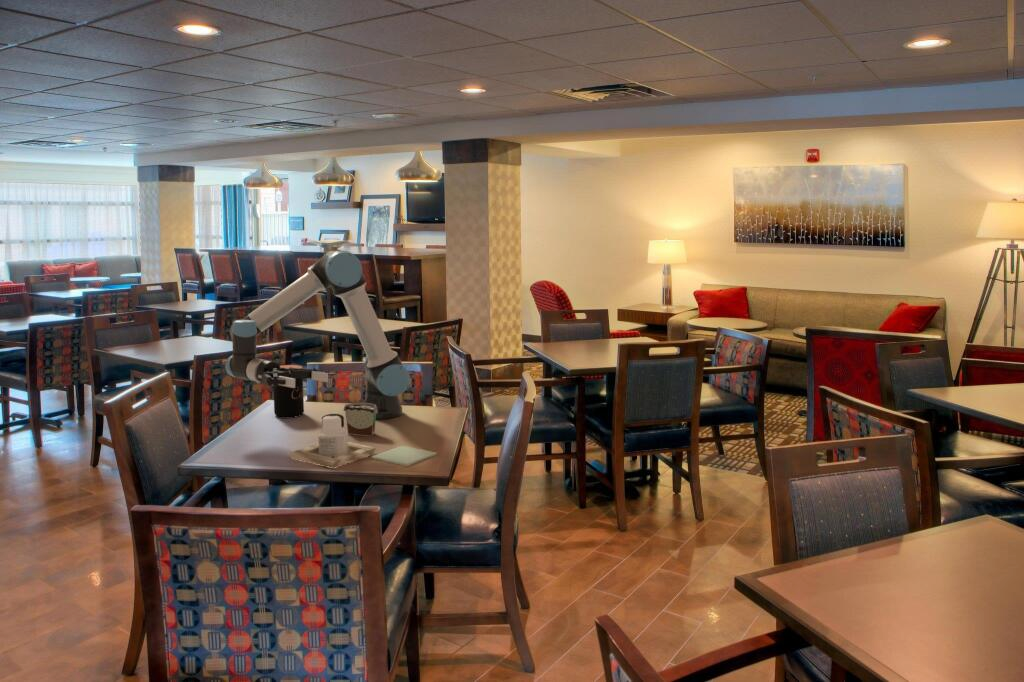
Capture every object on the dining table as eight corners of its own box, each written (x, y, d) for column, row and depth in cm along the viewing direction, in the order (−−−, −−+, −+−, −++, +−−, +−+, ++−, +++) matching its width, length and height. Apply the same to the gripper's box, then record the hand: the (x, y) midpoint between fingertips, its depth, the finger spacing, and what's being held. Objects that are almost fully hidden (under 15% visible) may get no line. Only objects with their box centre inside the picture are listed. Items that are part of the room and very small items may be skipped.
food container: (385, 432, 261) (384, 404, 260) (376, 437, 255) (375, 408, 254) (353, 429, 265) (352, 401, 264) (344, 433, 259) (343, 405, 258)
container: (323, 453, 237) (321, 412, 235) (348, 452, 238) (347, 411, 236) (318, 460, 229) (317, 418, 228) (345, 460, 230) (343, 418, 228)
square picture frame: (334, 444, 246) (334, 438, 246) (375, 454, 236) (375, 447, 236) (290, 458, 231) (290, 452, 231) (333, 469, 221) (333, 462, 221)
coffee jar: (295, 419, 278) (293, 370, 276) (269, 417, 281) (266, 369, 278) (309, 412, 289) (307, 365, 286) (283, 410, 291) (281, 364, 288)
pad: (402, 447, 243) (402, 445, 243) (436, 454, 236) (436, 452, 236) (371, 458, 232) (371, 456, 232) (407, 466, 224) (407, 464, 224)
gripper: (293, 378, 258) (339, 387, 247) (232, 388, 237) (279, 398, 226) (294, 356, 257) (340, 364, 246) (232, 364, 236) (279, 373, 225)
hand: (311, 380), depth 236 cm, fingers open, 13 cm apart
